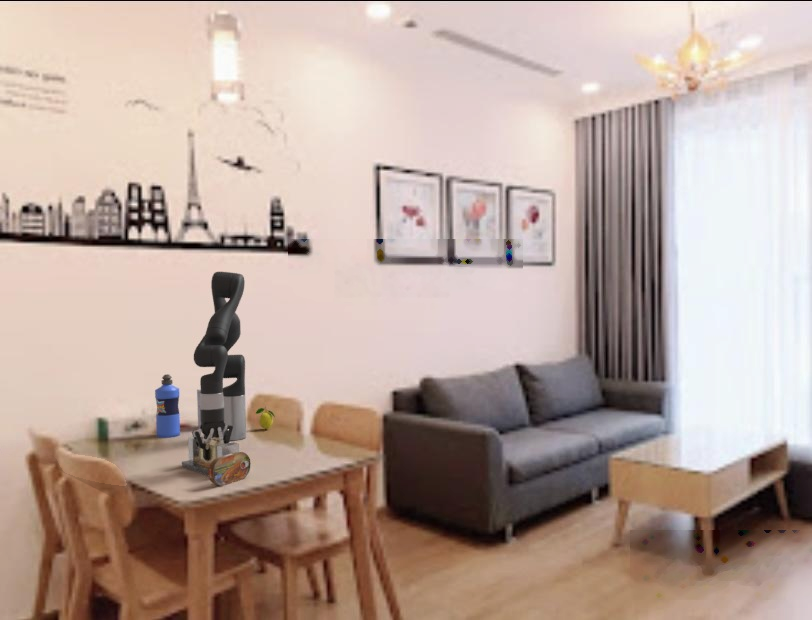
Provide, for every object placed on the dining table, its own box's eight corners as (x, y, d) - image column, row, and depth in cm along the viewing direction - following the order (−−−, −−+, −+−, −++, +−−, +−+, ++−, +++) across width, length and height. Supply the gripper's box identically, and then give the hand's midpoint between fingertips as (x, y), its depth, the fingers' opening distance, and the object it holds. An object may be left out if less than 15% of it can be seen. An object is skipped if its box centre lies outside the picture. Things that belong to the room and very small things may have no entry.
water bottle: (171, 432, 280) (169, 372, 280) (185, 434, 275) (183, 374, 274) (151, 436, 273) (149, 375, 272) (165, 438, 267) (163, 376, 267)
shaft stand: (181, 465, 223) (180, 437, 223) (208, 460, 230) (208, 432, 230) (219, 479, 205) (218, 448, 205) (247, 473, 212) (247, 443, 212)
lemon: (255, 429, 283) (255, 406, 282) (267, 427, 287) (267, 404, 286) (264, 431, 278) (263, 407, 277) (276, 429, 282) (275, 406, 281)
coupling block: (228, 463, 215) (228, 444, 215) (217, 465, 212) (216, 446, 212) (210, 457, 223) (209, 438, 223) (198, 459, 221) (198, 440, 220)
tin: (214, 488, 196) (213, 460, 196) (206, 487, 197) (206, 459, 197) (251, 476, 208) (251, 449, 208) (244, 475, 210) (243, 448, 210)
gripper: (225, 402, 225) (227, 453, 225) (186, 408, 215) (187, 461, 215) (237, 405, 220) (238, 456, 220) (197, 410, 210) (198, 465, 210)
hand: (213, 458), depth 218 cm, fingers closed on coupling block, 4 cm apart
